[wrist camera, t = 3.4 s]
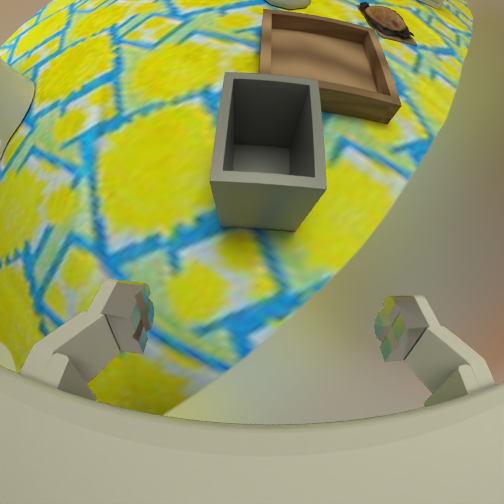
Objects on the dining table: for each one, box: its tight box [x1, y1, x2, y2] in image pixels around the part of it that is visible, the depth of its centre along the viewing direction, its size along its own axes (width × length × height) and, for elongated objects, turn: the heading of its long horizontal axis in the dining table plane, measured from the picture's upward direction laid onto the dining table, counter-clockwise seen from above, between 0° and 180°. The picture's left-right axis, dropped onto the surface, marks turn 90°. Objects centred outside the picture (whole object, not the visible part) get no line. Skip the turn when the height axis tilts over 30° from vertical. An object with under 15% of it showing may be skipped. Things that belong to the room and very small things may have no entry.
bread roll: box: [357, 2, 417, 46], centre depth 29 cm, size 11×8×4 cm
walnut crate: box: [259, 9, 401, 124], centre depth 25 cm, size 14×14×4 cm
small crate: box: [210, 72, 327, 231], centre depth 19 cm, size 8×6×9 cm
